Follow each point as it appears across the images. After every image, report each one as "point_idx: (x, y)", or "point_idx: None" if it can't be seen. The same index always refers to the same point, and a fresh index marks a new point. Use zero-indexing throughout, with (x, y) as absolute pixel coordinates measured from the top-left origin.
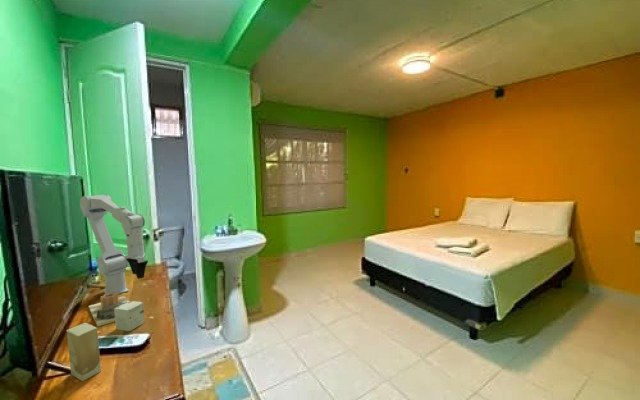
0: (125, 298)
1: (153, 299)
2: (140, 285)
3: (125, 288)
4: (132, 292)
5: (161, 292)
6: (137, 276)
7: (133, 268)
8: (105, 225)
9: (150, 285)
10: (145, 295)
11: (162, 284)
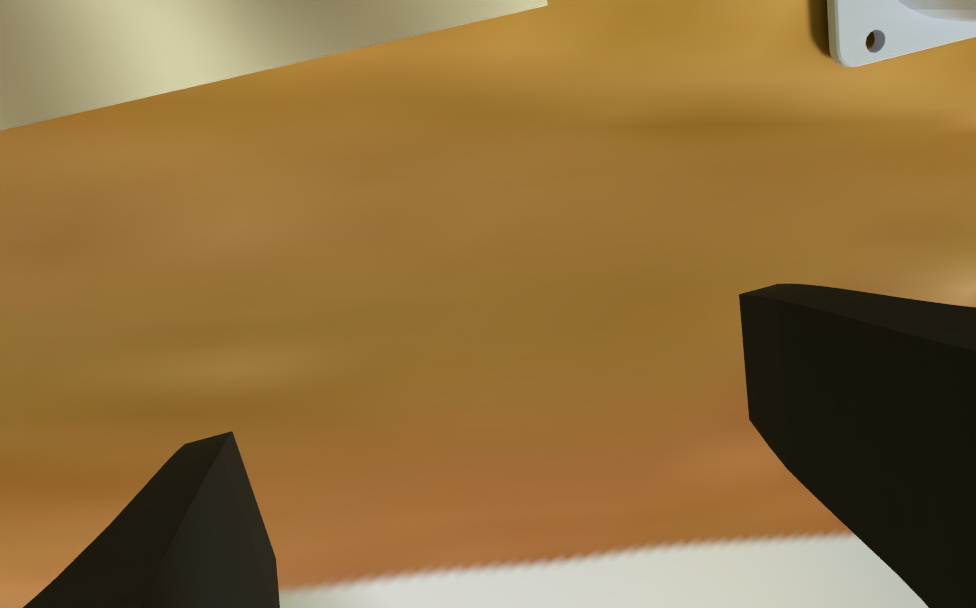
0: (396, 18)
1: (171, 437)
2: (968, 230)
3: (933, 13)
4: (738, 120)
5: (423, 527)
6: (148, 483)
7: (865, 378)
8: None
9: None
10: (446, 317)
11: (765, 520)
